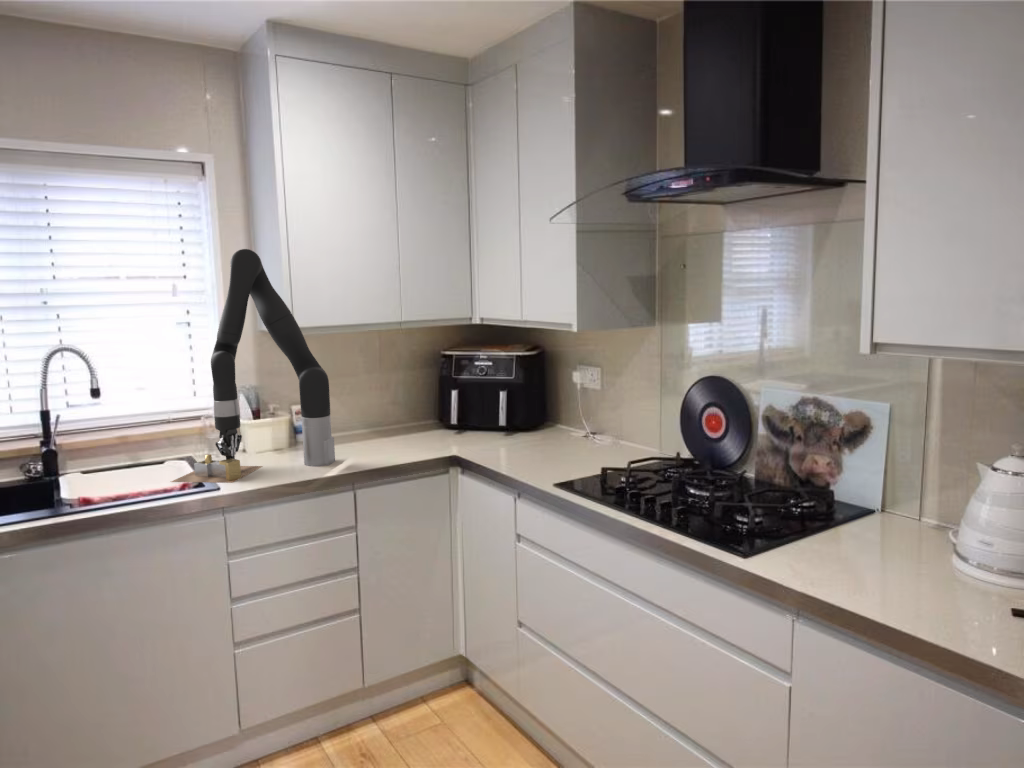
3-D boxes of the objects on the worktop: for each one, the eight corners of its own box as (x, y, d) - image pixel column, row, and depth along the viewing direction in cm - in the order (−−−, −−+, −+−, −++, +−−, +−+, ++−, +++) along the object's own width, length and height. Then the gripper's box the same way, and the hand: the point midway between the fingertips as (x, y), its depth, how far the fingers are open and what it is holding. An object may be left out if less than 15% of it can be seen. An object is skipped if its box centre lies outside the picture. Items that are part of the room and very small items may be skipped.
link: (240, 474, 226) (239, 462, 225) (228, 479, 221) (227, 466, 221) (207, 471, 231) (206, 459, 230) (195, 475, 226) (194, 463, 226)
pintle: (214, 472, 229) (212, 454, 229) (210, 474, 227) (209, 455, 227) (208, 472, 230) (206, 454, 229) (204, 474, 228) (203, 455, 227)
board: (263, 469, 237) (263, 466, 237) (232, 486, 217) (232, 482, 217) (206, 469, 239) (205, 465, 239) (170, 485, 220) (170, 481, 220)
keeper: (220, 478, 222) (219, 461, 221) (232, 475, 225) (230, 458, 224) (229, 480, 219) (228, 462, 218) (241, 477, 222) (239, 460, 222)
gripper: (227, 417, 222) (232, 472, 224) (247, 410, 235) (251, 462, 237) (204, 417, 223) (209, 472, 225) (226, 410, 236) (230, 462, 238)
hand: (231, 467), depth 231 cm, fingers closed
